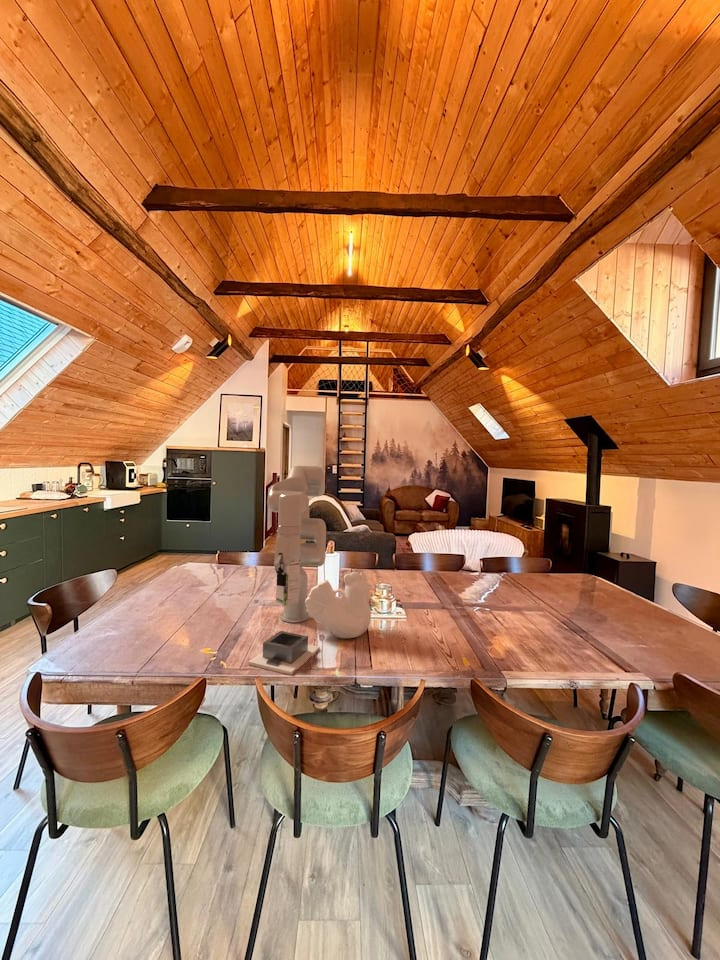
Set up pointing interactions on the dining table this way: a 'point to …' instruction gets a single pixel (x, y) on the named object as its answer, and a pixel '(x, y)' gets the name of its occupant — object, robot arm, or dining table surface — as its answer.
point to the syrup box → (289, 585)
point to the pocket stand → (284, 653)
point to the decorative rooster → (342, 606)
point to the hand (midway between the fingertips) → (287, 582)
